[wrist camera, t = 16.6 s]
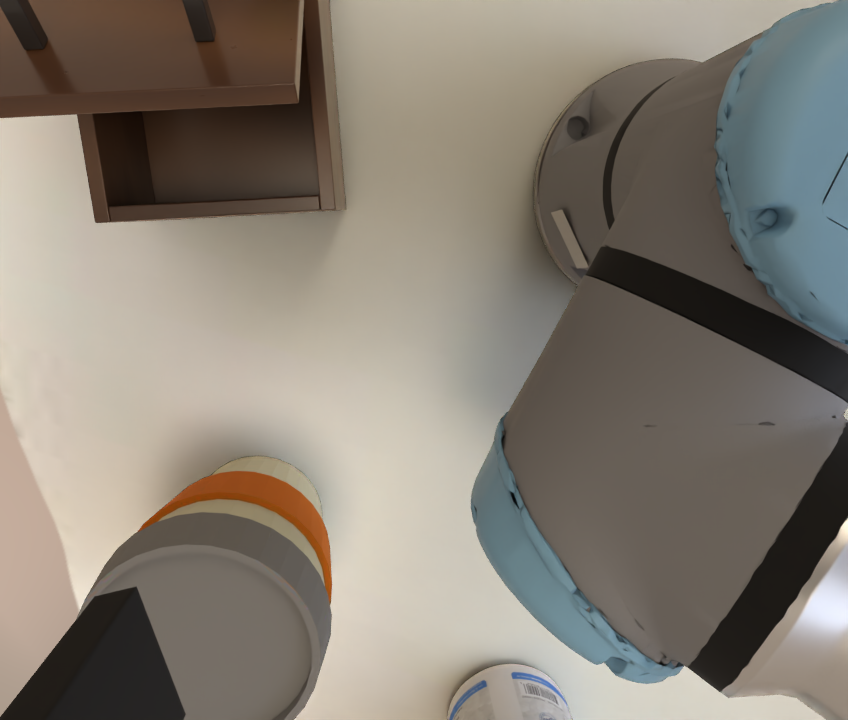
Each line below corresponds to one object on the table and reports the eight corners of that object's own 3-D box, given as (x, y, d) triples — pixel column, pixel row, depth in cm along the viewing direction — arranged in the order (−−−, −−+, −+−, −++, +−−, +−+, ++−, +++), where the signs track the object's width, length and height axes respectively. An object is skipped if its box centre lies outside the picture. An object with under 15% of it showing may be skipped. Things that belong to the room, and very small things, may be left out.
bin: (346, 209, 42) (335, 209, 34) (149, 220, 41) (94, 223, 34) (326, -41, 38) (309, -104, 31) (112, -32, 38) (41, -93, 30)
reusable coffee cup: (161, 434, 44) (47, 544, 30) (343, 428, 45) (319, 533, 30) (180, 595, 47) (85, 768, 33) (351, 588, 48) (333, 754, 33)
